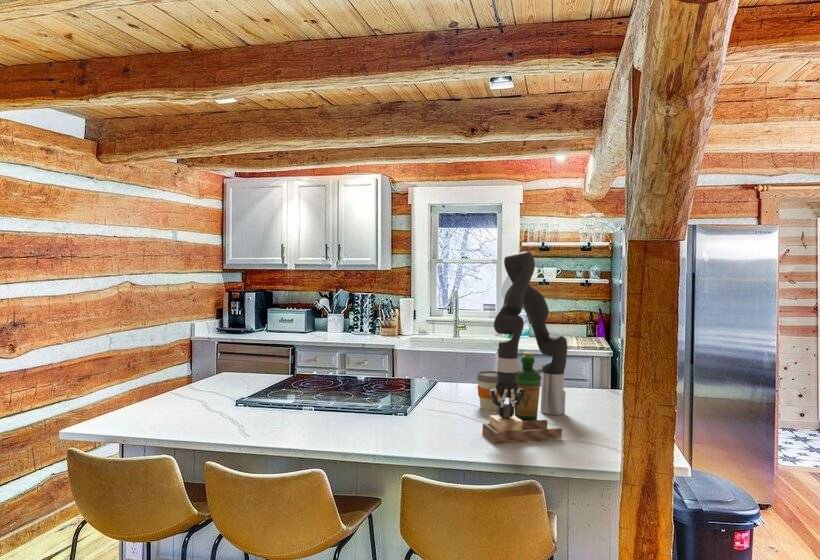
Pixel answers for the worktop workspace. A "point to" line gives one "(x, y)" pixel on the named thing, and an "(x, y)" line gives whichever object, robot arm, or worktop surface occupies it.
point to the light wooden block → (505, 421)
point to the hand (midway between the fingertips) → (505, 416)
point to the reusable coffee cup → (487, 389)
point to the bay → (523, 433)
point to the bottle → (528, 389)
